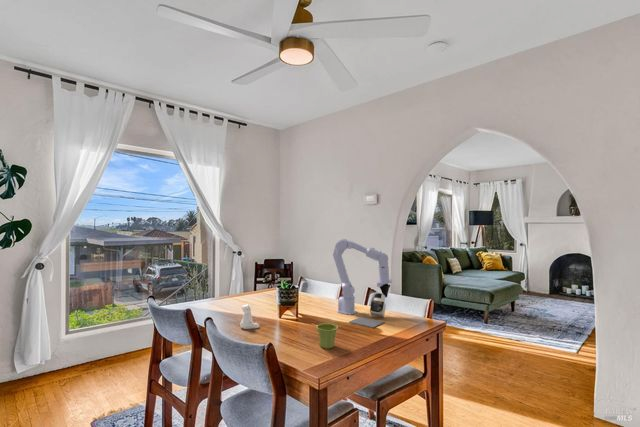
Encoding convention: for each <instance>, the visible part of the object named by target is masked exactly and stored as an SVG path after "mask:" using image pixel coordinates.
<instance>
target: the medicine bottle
mask: <svg viewBox="0 0 640 427" xmlns="http://www.w3.org/2000/svg"><path fill="white" fill-rule="evenodd" d="M385 301H386V297H385V295H383V294H382V293H379V292H377V293H375V294H374V299H372V300H371V303H370V309H369V313H370V314H371V316H373V317H379V318H384V317H385V312H386V306H387V304H386V303H385Z"/></svg>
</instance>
